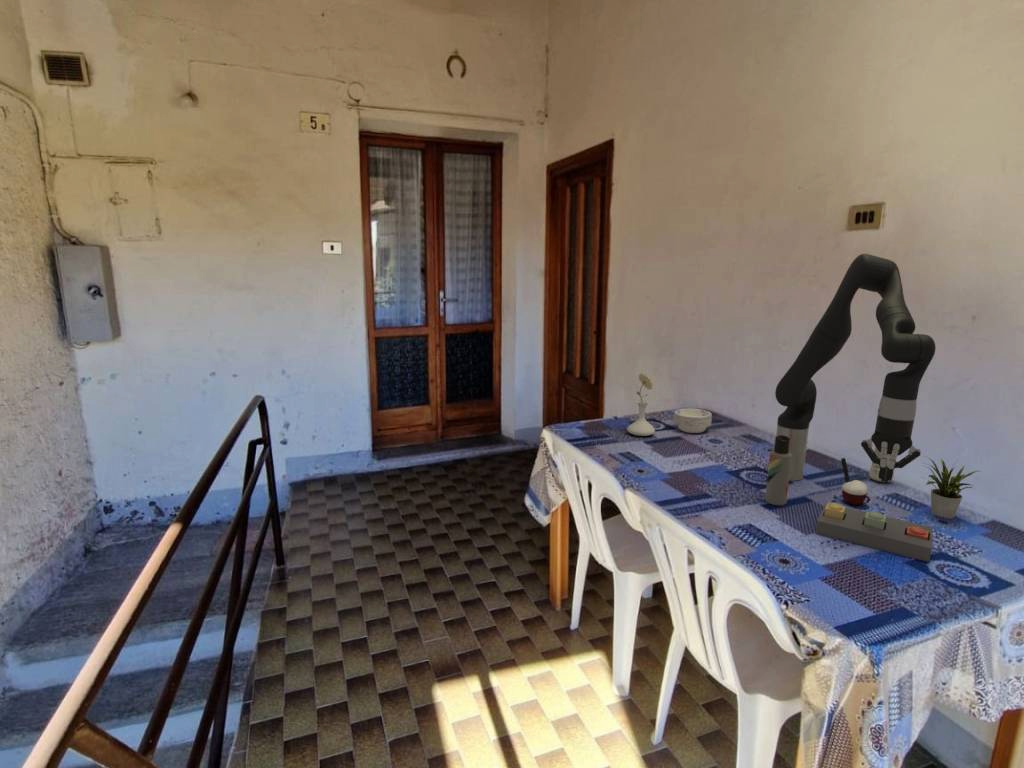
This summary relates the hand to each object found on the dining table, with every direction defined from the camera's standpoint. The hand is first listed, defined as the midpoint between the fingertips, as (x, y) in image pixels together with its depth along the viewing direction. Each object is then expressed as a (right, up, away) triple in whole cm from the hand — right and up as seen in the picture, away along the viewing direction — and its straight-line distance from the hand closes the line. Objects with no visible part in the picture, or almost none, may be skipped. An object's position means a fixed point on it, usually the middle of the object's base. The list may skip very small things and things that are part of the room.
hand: (884, 480), depth 142 cm
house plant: (+26, -12, +17) cm, 34 cm away
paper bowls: (-18, +5, +97) cm, 98 cm away
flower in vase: (-41, +4, +91) cm, 100 cm away
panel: (-1, -15, +3) cm, 15 cm away
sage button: (-1, -12, +3) cm, 13 cm away
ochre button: (-8, -11, +8) cm, 16 cm away
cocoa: (+7, -11, +24) cm, 27 cm away
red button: (+6, -15, -2) cm, 16 cm away
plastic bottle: (+26, -7, +41) cm, 49 cm away
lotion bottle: (-16, -10, +24) cm, 31 cm away
